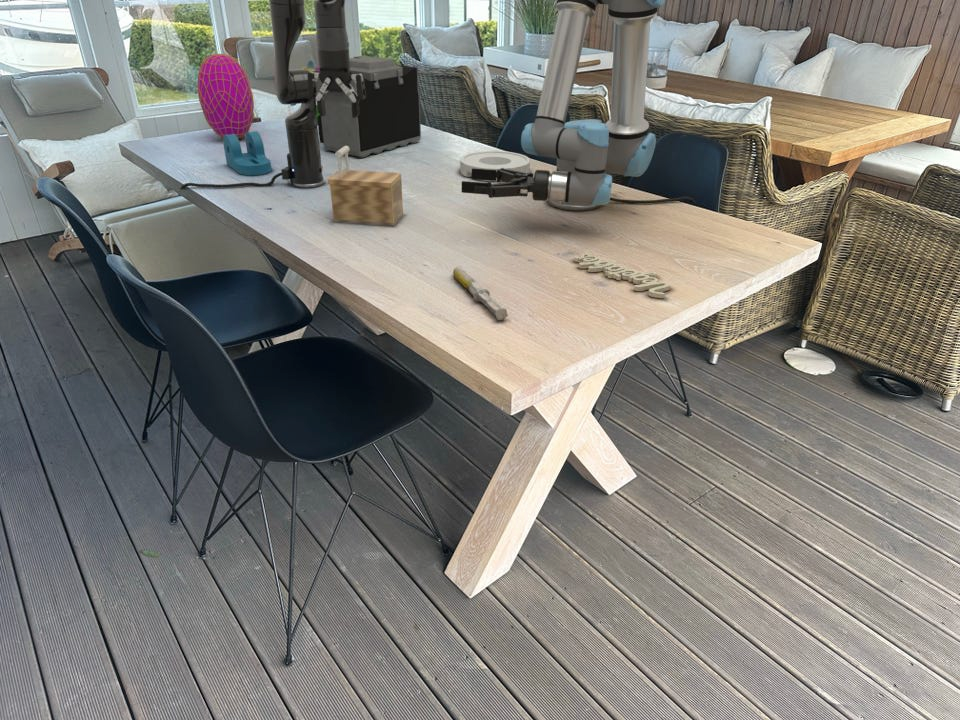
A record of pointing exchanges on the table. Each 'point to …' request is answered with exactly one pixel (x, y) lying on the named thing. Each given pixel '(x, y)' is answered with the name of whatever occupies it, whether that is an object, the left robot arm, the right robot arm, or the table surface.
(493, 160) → the ashtray
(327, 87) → the left robot arm
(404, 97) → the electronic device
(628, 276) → the decorative sign
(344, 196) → the chest
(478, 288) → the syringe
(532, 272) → the table surface
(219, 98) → the decorative egg
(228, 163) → the camera mount
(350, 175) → the lid
